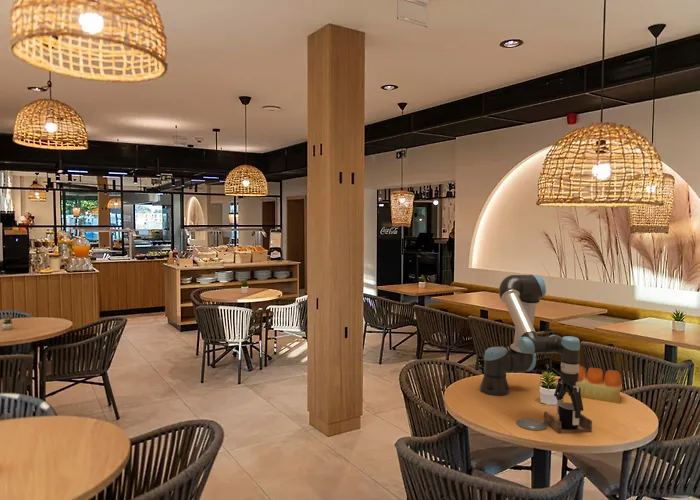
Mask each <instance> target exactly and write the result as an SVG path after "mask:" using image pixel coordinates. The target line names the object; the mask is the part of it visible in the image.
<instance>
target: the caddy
mask: <svg viewBox="0 0 700 500" xmlns="http://www.w3.org/2000/svg"><path fill="white" fill-rule="evenodd" d="M543 422H544V423H546V425H547V427H550V428H551V429H552V430H554V431H555V432H556V433H558V434H576V433H591V432H593V431H592V430H593V420H592V419H590V418H589V417H587V416H586V415H584V414H582V412H581V413H580V421H579V425H578V426H580V427H582V428H577V429H570V430H565V429H562V427H561V421H560V420H559V418H556V417H555V416H554V415H552V414H551V413H549V412H548V411H543Z"/></svg>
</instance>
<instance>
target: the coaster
mask: <svg viewBox="0 0 700 500" xmlns="http://www.w3.org/2000/svg"><path fill="white" fill-rule="evenodd" d="M515 424H516V425H517V426H518V427H520V428H521V429H525V430H528V431H534V432H540V431H544V430H547V428H548V425H547V424H546V423H544V421H542V420H539V419H537V418H531V417H523V418H519V419H516V423H515Z"/></svg>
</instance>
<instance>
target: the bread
mask: <svg viewBox="0 0 700 500" xmlns="http://www.w3.org/2000/svg"><path fill="white" fill-rule="evenodd" d="M578 374H579V378H578V382H576V387H580V389H581V391H580V393H581V398H582V399H589V400H595V401H601V402H606V403H612V404H613V403H614V404H620V402H621V390H622V384H623V383H622V374H621V372H619V371H618V370H614V369H608V370H606V371H605V373H604V370H603V369H602V368H601V367H600V368H598V367H593V366H592V367H589V368H588V370H587V369H586V367H584V366H583V365H579V372H578ZM573 393H574V392H573ZM567 395H568V396H569V394H568V393H567Z"/></svg>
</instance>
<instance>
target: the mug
mask: <svg viewBox="0 0 700 500" xmlns="http://www.w3.org/2000/svg"><path fill="white" fill-rule="evenodd" d="M573 410H574V407H573V404H572V402H567V401H566V402H564V401H563V403H560V404H559V414H558V419H559V420H560V421H561V429H562V430H570V429H579V425H572V420H573ZM580 413H581V414H582V411H580ZM579 421H580V418H579Z"/></svg>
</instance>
